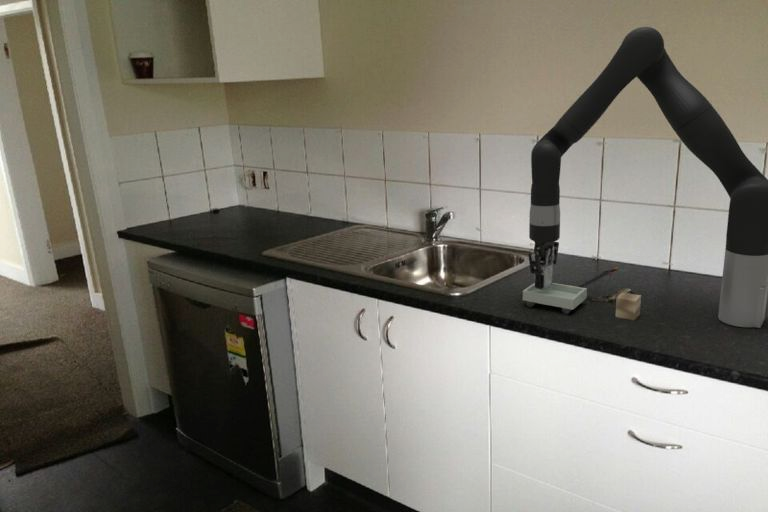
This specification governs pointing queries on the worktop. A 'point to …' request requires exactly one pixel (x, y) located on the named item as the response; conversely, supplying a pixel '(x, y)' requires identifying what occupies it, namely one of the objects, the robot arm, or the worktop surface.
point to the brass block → (628, 306)
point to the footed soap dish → (556, 296)
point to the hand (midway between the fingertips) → (543, 284)
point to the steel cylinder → (547, 277)
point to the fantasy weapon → (606, 298)
